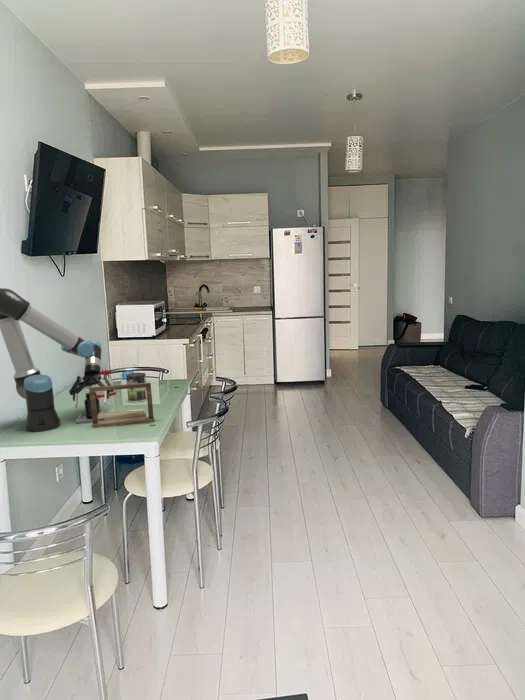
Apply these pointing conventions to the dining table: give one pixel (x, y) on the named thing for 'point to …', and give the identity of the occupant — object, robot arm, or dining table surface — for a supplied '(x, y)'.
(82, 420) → the grey tray
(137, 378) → the coffee can
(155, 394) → the dining table surface
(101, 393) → the kitchen timer
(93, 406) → the walnut rack
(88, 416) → the supplement bottle
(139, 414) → the offcut stack
